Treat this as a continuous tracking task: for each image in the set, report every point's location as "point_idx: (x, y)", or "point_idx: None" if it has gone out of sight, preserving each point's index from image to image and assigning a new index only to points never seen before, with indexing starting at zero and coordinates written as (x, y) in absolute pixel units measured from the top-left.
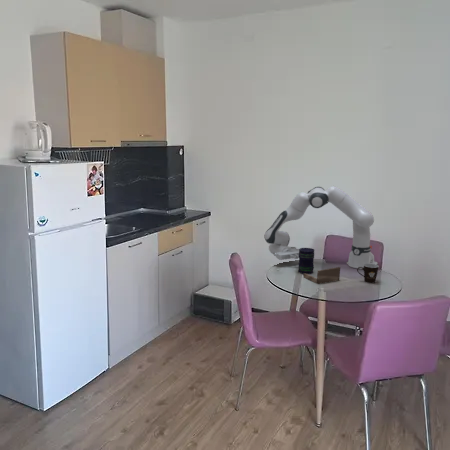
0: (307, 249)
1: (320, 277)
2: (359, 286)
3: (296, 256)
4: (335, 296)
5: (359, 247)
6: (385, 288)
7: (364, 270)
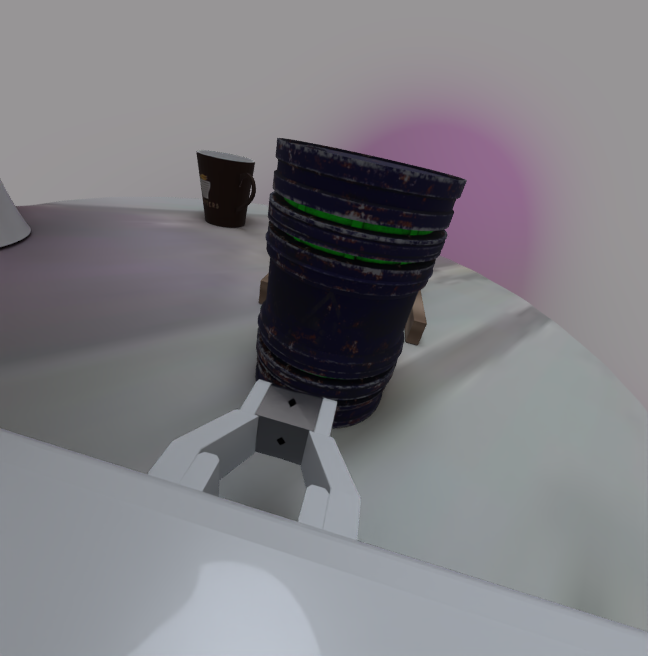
0: (351, 157)
1: None
2: None
3: (307, 393)
4: None
5: None
6: (262, 210)
7: (244, 183)
